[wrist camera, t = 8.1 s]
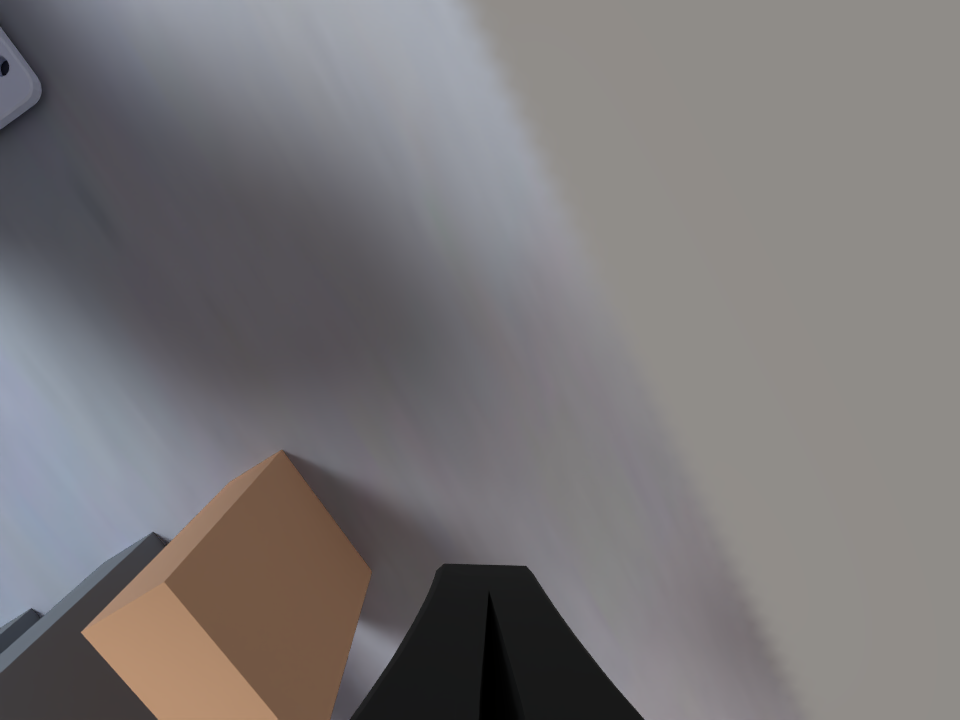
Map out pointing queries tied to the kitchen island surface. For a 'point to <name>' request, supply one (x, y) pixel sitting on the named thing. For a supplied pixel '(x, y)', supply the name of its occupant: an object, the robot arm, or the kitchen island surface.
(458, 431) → the kitchen island surface
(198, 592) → the tile head
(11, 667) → the tile
